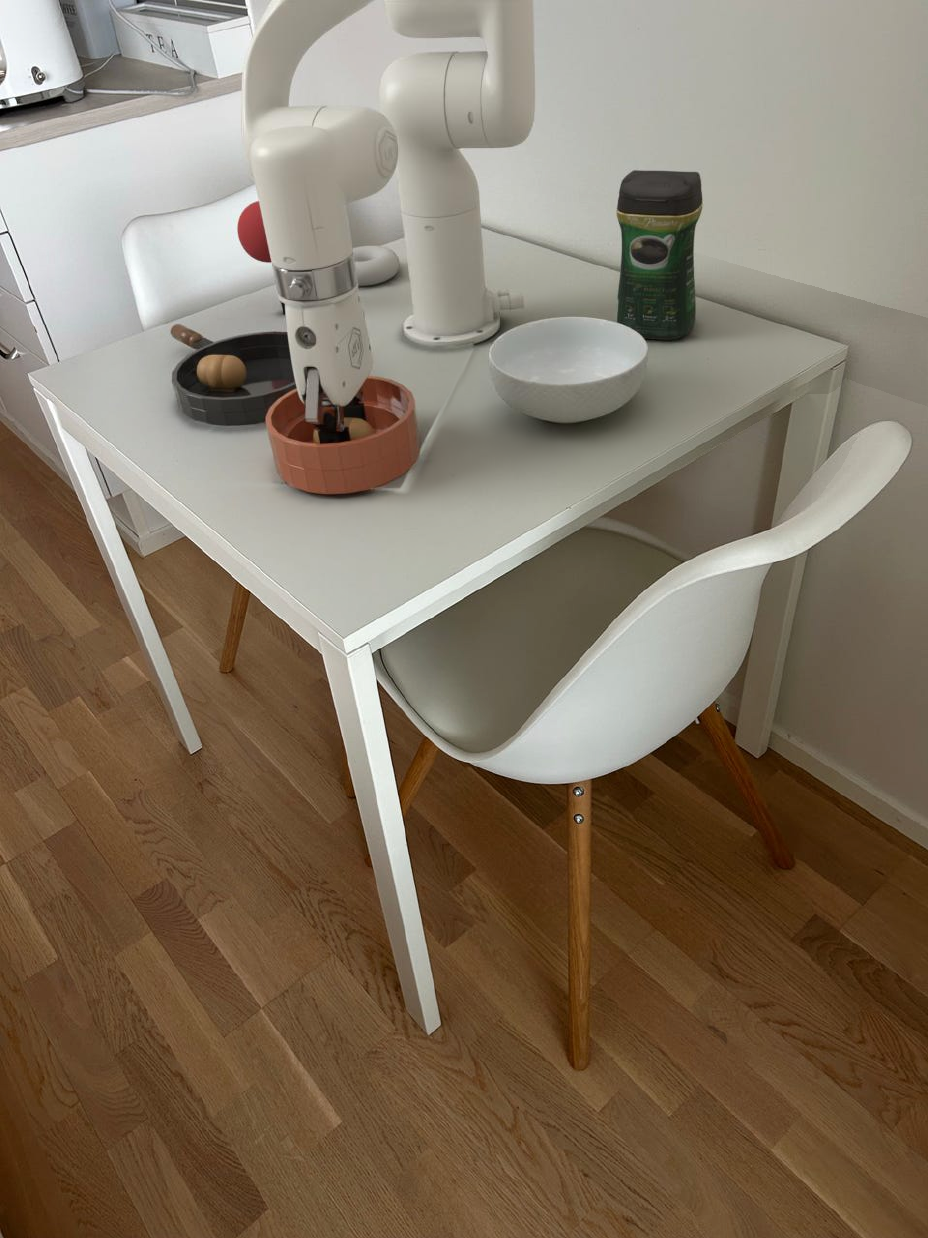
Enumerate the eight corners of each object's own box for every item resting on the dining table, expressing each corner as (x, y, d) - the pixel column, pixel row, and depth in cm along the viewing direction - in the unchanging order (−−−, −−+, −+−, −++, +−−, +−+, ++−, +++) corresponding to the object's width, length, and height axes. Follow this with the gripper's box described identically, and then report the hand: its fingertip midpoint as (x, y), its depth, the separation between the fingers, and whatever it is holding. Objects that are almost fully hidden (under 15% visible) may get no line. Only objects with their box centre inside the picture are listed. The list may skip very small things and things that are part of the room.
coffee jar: (700, 319, 122) (712, 162, 110) (684, 345, 117) (695, 183, 105) (626, 313, 126) (630, 160, 114) (607, 337, 120) (609, 180, 109)
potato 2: (383, 446, 103) (377, 411, 100) (371, 467, 100) (365, 431, 97) (324, 444, 104) (317, 408, 101) (311, 464, 101) (303, 428, 98)
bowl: (408, 415, 109) (401, 365, 105) (432, 483, 97) (426, 430, 93) (273, 438, 107) (262, 389, 103) (282, 510, 96) (269, 457, 92)
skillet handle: (221, 354, 121) (217, 339, 120) (207, 359, 120) (203, 344, 119) (183, 334, 127) (179, 320, 126) (170, 339, 126) (166, 325, 125)
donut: (325, 290, 141) (391, 289, 139) (321, 267, 139) (387, 265, 137) (345, 265, 149) (408, 263, 146) (341, 242, 146) (405, 240, 144)
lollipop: (322, 306, 136) (302, 195, 127) (287, 327, 131) (263, 213, 122) (281, 299, 140) (259, 190, 130) (246, 319, 135) (219, 207, 125)
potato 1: (254, 380, 118) (247, 349, 115) (241, 395, 115) (234, 364, 112) (209, 379, 119) (201, 348, 117) (196, 394, 116) (187, 363, 114)
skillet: (323, 350, 125) (318, 322, 122) (339, 413, 111) (333, 383, 108) (181, 374, 123) (173, 345, 120) (179, 441, 109) (169, 410, 106)
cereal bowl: (533, 460, 99) (531, 397, 95) (468, 397, 111) (463, 338, 107) (675, 417, 103) (679, 355, 99) (598, 361, 116) (598, 303, 111)
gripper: (323, 312, 83) (356, 494, 94) (380, 244, 95) (402, 413, 107) (243, 311, 84) (284, 490, 96) (309, 245, 97) (338, 410, 108)
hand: (346, 448), depth 101 cm, fingers closed on potato 2, 4 cm apart
